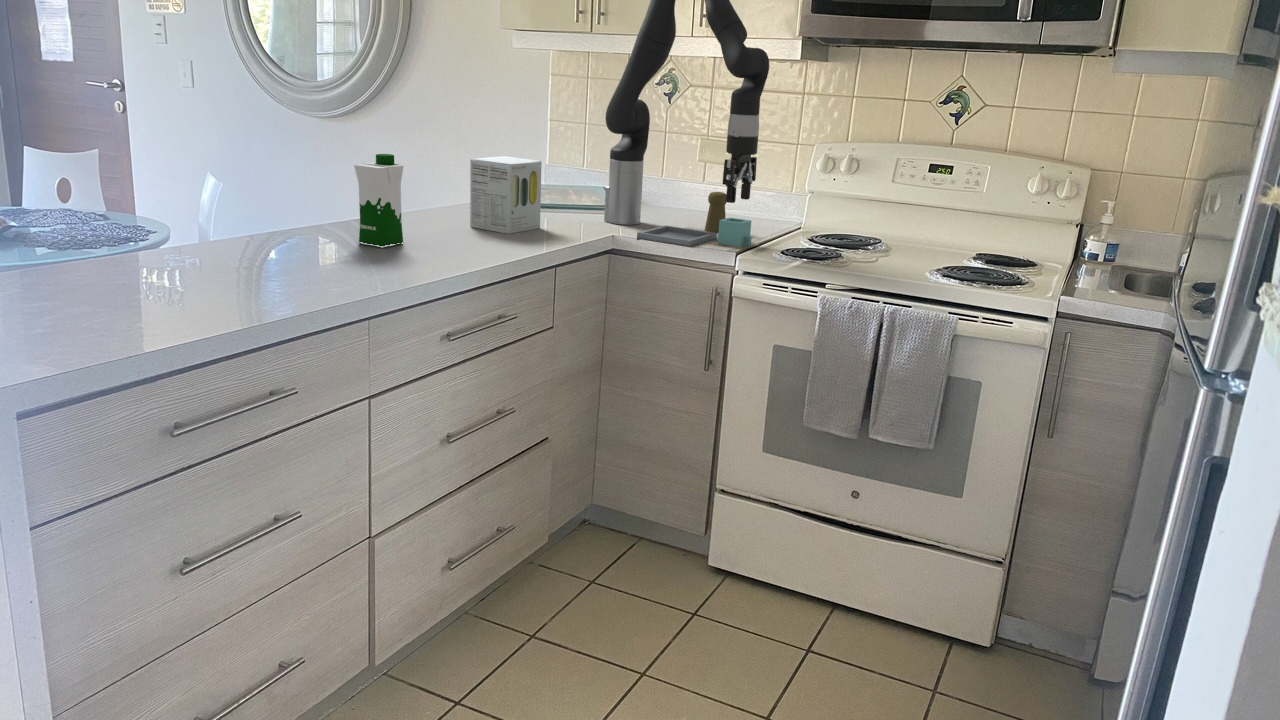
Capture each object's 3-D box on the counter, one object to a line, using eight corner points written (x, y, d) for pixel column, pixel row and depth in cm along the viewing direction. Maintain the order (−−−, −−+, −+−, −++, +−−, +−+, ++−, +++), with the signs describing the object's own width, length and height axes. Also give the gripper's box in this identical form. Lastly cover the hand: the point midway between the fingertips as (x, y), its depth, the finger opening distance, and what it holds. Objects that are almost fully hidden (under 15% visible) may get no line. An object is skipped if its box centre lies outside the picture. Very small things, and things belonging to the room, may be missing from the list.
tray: (636, 240, 236) (637, 232, 236) (665, 232, 249) (666, 225, 248) (689, 249, 229) (689, 240, 229) (716, 240, 242) (716, 233, 241)
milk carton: (409, 244, 217) (407, 156, 210) (381, 249, 209) (378, 158, 203) (380, 238, 220) (377, 152, 214) (352, 244, 213) (348, 154, 207)
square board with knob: (706, 246, 234) (708, 224, 232) (724, 240, 242) (725, 219, 240) (743, 252, 229) (745, 229, 227) (759, 246, 237) (761, 224, 236)
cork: (718, 235, 249) (721, 194, 245) (699, 232, 252) (702, 191, 249) (730, 233, 253) (734, 192, 250) (711, 230, 257) (715, 189, 253)
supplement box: (509, 234, 235) (509, 163, 229) (469, 227, 241) (469, 158, 236) (541, 228, 246) (542, 160, 240) (502, 221, 252) (503, 155, 247)
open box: (717, 243, 234) (719, 220, 232) (727, 240, 239) (729, 217, 237) (744, 248, 231) (747, 224, 229) (754, 245, 236) (756, 221, 234)
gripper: (741, 131, 235) (736, 196, 240) (716, 133, 223) (711, 202, 228) (768, 134, 231) (763, 199, 236) (744, 136, 219) (739, 205, 224)
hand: (737, 200), depth 232 cm, fingers open, 8 cm apart
